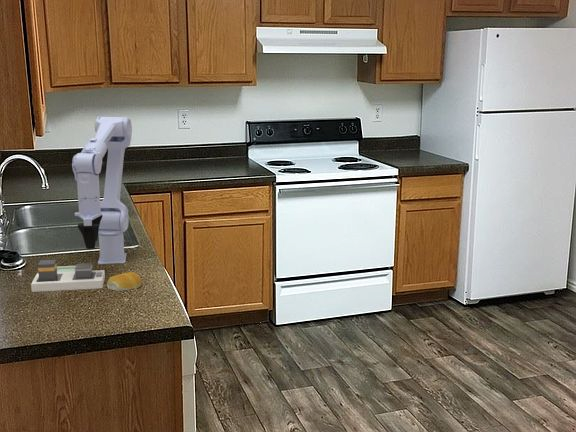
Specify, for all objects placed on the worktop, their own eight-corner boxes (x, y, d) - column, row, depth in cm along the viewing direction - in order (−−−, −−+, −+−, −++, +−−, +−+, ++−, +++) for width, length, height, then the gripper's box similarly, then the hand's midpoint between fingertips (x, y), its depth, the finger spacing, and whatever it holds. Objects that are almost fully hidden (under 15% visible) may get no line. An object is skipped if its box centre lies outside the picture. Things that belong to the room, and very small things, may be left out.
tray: (52, 269, 192) (52, 266, 192) (84, 268, 194) (84, 265, 193) (47, 280, 183) (47, 276, 183) (81, 278, 185) (81, 275, 185)
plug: (42, 284, 180) (40, 260, 178) (58, 283, 181) (56, 259, 179) (39, 289, 176) (37, 264, 174) (55, 289, 177) (53, 264, 175)
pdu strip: (37, 281, 182) (36, 262, 181) (104, 278, 185) (103, 259, 184) (31, 293, 173) (30, 273, 172) (102, 289, 177) (101, 270, 175)
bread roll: (147, 286, 181) (147, 272, 180) (122, 295, 173) (121, 280, 172) (127, 279, 185) (126, 266, 184) (101, 288, 178) (100, 274, 177)
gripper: (76, 191, 186) (79, 238, 189) (70, 203, 172) (73, 252, 175) (102, 191, 187) (105, 237, 190) (98, 202, 173) (101, 251, 177)
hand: (91, 244), depth 183 cm, fingers open, 7 cm apart
